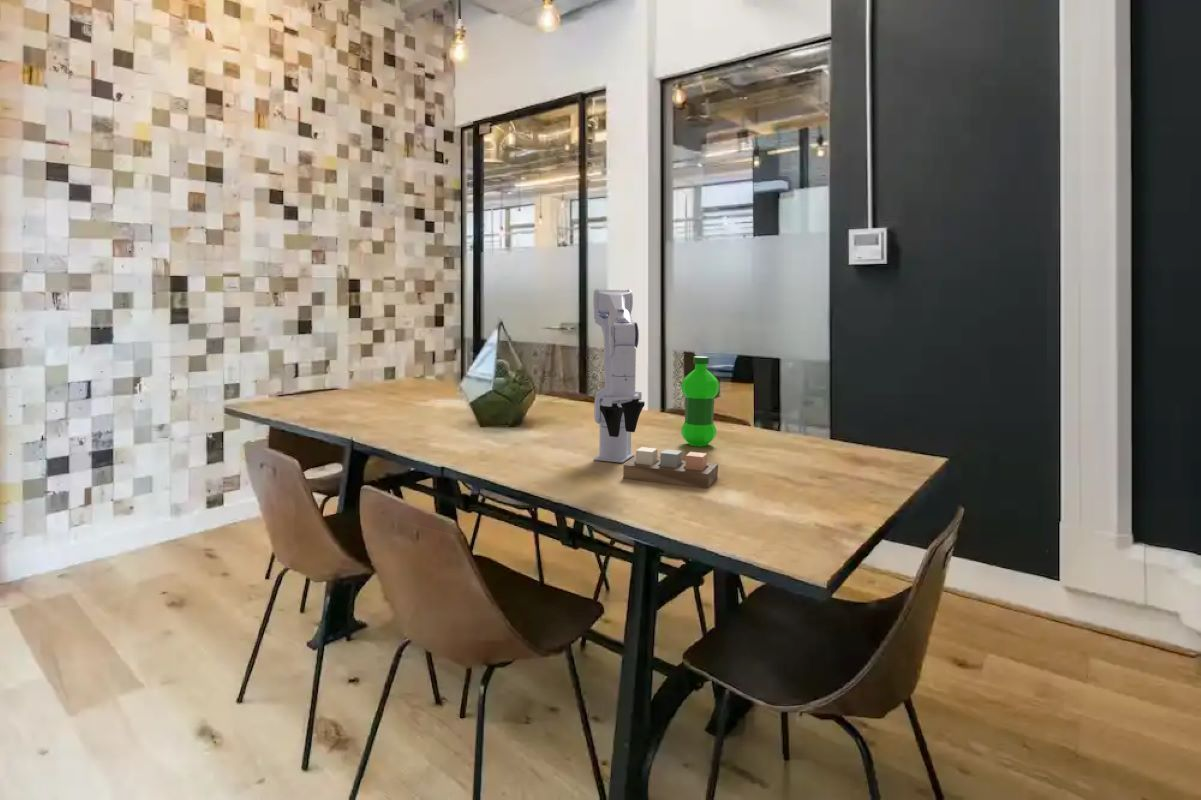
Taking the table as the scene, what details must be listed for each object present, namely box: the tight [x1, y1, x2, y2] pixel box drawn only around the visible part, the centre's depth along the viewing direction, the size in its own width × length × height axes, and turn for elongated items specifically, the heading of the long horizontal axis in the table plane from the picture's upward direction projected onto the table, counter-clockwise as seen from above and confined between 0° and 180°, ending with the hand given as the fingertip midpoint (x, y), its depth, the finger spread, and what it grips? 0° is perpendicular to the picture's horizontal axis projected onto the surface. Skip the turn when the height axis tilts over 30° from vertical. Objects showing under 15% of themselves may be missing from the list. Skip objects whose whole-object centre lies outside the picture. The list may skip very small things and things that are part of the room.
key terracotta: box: [685, 451, 708, 471], centre depth 164 cm, size 4×4×4 cm
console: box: [622, 456, 719, 489], centre depth 167 cm, size 10×20×3 cm, turn 68°
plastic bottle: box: [680, 355, 720, 447], centre depth 201 cm, size 10×10×25 cm
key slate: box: [659, 449, 683, 468], centre depth 166 cm, size 4×4×4 cm
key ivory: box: [635, 446, 658, 465], centre depth 168 cm, size 4×4×4 cm
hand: (622, 434), depth 165 cm, fingers open, 7 cm apart
